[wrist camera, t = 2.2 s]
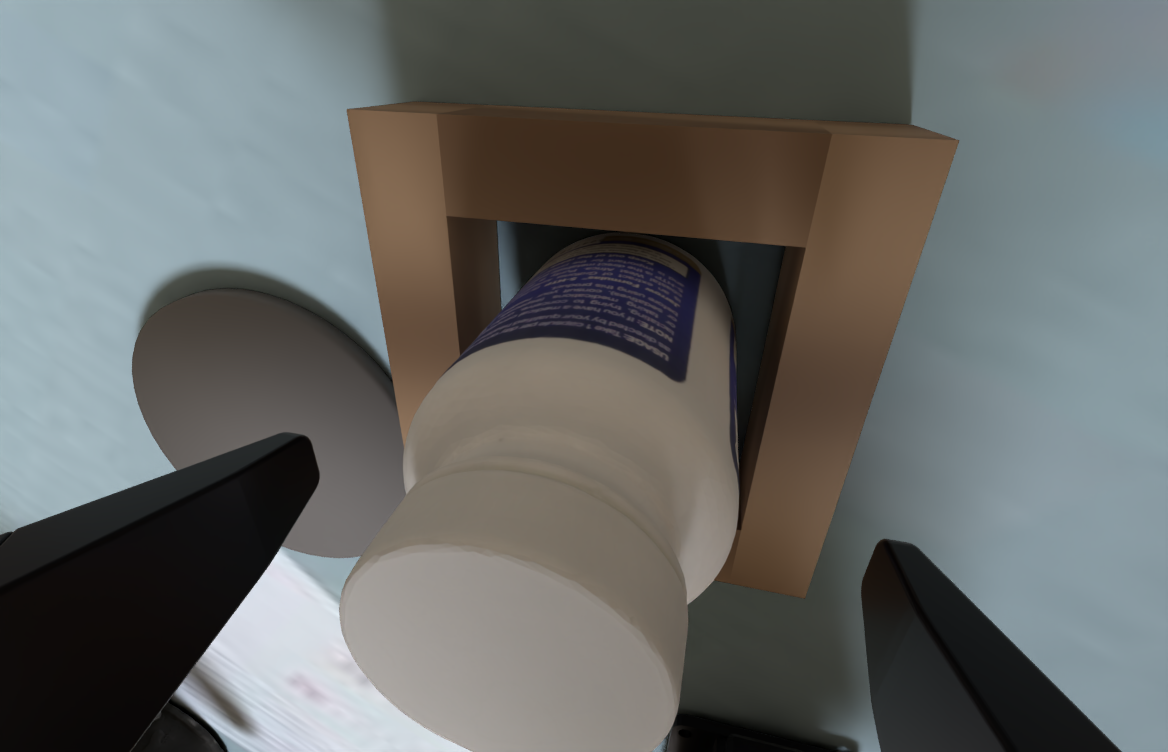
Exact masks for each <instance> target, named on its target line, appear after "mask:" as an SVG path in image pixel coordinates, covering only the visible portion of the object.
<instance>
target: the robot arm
mask: <svg viewBox="0 0 1168 752" xmlns="http://www.w3.org/2000/svg"><path fill="white" fill-rule="evenodd" d="M319 480H320V471H319V467H318V464H317V460H316V456H315V453H314V449H313V445H312V442H311V440H310V439H309V438H308V437H307V436H305V435H301V434H296V433H290V432H282V433H279V434H276V435H273V436H270V437H268V438H265V439H262V440H260V441H257V442H254V443H251V444H249V445H246V446H243V447H240V448H238V449H235V450H232V451H229V452H227V453H224V454H221V455H218V456H216V457H213V458H210V459H207V460H205V461H202V462H199V463H196V464H194V465H191V466H188V467H185V468H183V469H180V470H177V471H174V472H172V473H169V474H166V475H164V476H161V477H158V478H155V479H153V480H150V481H147V482H144V483H142V484H139V485H136V486H133V487H131V488H128V489H125V490H122V491H120V492H117V493H114V494H111V495H109V496H106V497H103V498H100V499H98V500H95V501H92V502H89V503H87V504H84V505H81V506H78V507H76V508H73V509H70V510H67V511H65V512H62V513H59V514H57V515H54V516H51V517H48V518H46V519H43V520H40V521H37V522H35V523H32V524H29V525H26V526H24V527H21V528H18V529H17V530H15V531H14V532H7V533H4V534H1V535H0V752H131V750H132V749H133V748H134V746H135V745H136V744H137V742H138V741H139V740H140V738H141V737H142V736H143V734H144V733H145V732H146V730H147V729H148V728H149V726H150V725H151V723H152V722H153V721H154V719H155V718H156V717H157V715H158V714H159V713H160V711H161V710H162V709H163V707H164V706H165V705H166V703H167V702H168V701H169V699H170V698H171V697H172V695H173V694H174V693H175V691H176V690H177V689H178V687H179V686H180V685H181V683H182V682H183V681H184V679H185V678H186V677H187V675H188V674H189V673H190V671H191V670H192V669H193V667H194V666H195V665H196V663H197V662H198V661H199V659H200V658H201V656H202V655H203V654H204V652H205V651H206V650H207V648H208V647H209V646H210V644H211V643H212V642H213V640H214V639H215V638H216V636H217V635H218V634H219V632H220V631H221V630H222V628H223V627H224V626H225V624H226V623H227V622H228V620H229V619H230V618H231V616H232V615H233V614H234V612H235V611H236V610H237V608H238V607H239V606H240V604H241V603H242V602H243V600H244V599H245V598H246V596H247V595H248V594H249V592H250V591H251V589H252V588H253V587H254V585H255V584H256V583H257V581H258V580H259V579H260V577H261V576H262V575H263V573H264V572H265V570H266V569H267V568H268V566H269V565H270V563H271V562H272V560H273V559H274V557H275V555H276V554H277V552H278V551H279V549H280V548H281V546H282V544H283V543H284V541H285V539H286V538H287V536H288V534H289V533H290V531H291V530H292V528H293V526H294V525H295V523H296V521H297V520H298V518H299V516H300V515H301V513H302V511H303V510H304V508H305V507H306V505H307V503H308V502H309V500H310V498H311V497H312V495H313V493H314V492H315V490H316V488H317V486H318V484H319ZM861 598H862V609H863V620H864V630H865V641H866V652H867V663H868V674H869V684H870V693H871V702H872V708H873V714H874V719H875V725H876V729H877V734H878V739H879V744H880V749H881V752H1122V751H1121V750H1120V749H1119V748H1118V747H1117V746H1116V745H1115V744H1114V743H1113V742H1112V741H1111V740H1110V739H1109V738H1108V737H1107V736H1106V735H1105V734H1104V733H1103V732H1102V731H1101V730H1100V729H1099V728H1098V727H1097V726H1096V725H1095V724H1094V723H1093V722H1092V721H1091V720H1090V719H1089V718H1088V717H1087V716H1086V715H1085V714H1084V713H1083V712H1082V711H1081V710H1080V709H1079V708H1078V707H1077V706H1076V705H1075V704H1074V703H1073V702H1072V701H1071V700H1070V699H1069V698H1068V697H1067V696H1066V695H1065V694H1064V693H1063V692H1062V691H1061V690H1060V689H1059V688H1058V687H1057V686H1056V685H1055V684H1054V683H1053V682H1052V681H1051V680H1050V679H1049V678H1048V677H1047V676H1046V675H1045V674H1044V673H1043V672H1042V671H1041V670H1040V669H1039V668H1038V667H1037V666H1036V665H1035V664H1034V663H1033V662H1032V661H1031V660H1030V659H1029V658H1028V657H1027V656H1026V655H1025V654H1024V653H1023V652H1022V651H1021V650H1020V649H1019V648H1018V647H1017V646H1016V645H1015V644H1014V643H1013V642H1012V641H1011V640H1010V639H1009V638H1008V637H1007V636H1006V635H1005V634H1004V633H1003V632H1002V631H1001V630H1000V629H999V628H998V627H997V626H996V625H995V624H994V623H993V622H992V621H991V620H990V619H989V618H988V617H987V616H986V615H985V614H984V613H983V612H982V611H981V610H980V609H979V608H978V607H977V606H976V605H975V604H974V603H973V602H972V601H971V600H970V599H969V598H968V597H967V596H966V595H965V594H964V593H963V592H962V591H961V590H960V589H959V588H958V587H957V586H956V585H955V584H954V583H953V582H952V581H951V580H950V579H949V578H948V577H947V576H946V575H945V574H944V573H943V572H942V571H941V570H940V569H939V568H938V567H937V566H936V565H935V564H934V563H933V562H932V561H931V560H930V559H929V558H928V557H927V556H926V555H925V554H924V553H923V552H922V551H921V550H920V549H919V548H917V547H916V546H915V545H913V544H911V543H907V542H901V541H896V540H890V539H882V540H880V541H879V542H878V543H877V545H876V547H875V550H874V552H873V555H872V557H871V560H870V562H869V565H868V567H867V570H866V572H865V575H864V577H863V581H862V587H861ZM666 752H834V751H830V750H826V749H822V748H818V747H814V746H810V745H806V744H802V743H798V742H794V741H790V740H786V739H782V738H778V737H774V736H770V735H766V734H762V733H758V732H754V731H750V730H746V729H742V728H738V727H734V726H730V725H726V724H722V723H718V722H714V721H710V720H706V719H702V718H698V717H694V716H690V715H685V714H679V715H676V717H675V720H674V723H673V725H672V727H671V730H670V735H669V740H668V745H667V751H666Z"/></svg>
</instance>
